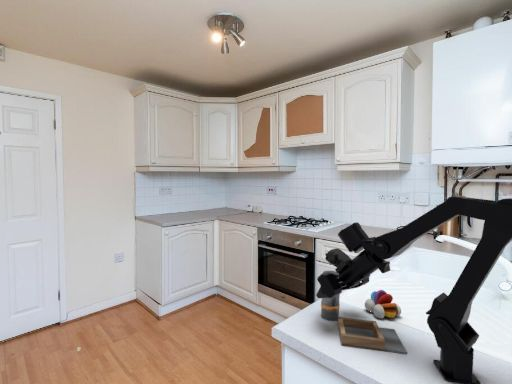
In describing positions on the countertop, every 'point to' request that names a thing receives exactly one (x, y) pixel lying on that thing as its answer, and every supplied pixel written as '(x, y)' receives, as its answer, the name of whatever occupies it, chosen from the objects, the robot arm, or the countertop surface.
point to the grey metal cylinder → (330, 304)
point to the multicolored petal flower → (382, 305)
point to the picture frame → (368, 335)
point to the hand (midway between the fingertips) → (326, 293)
